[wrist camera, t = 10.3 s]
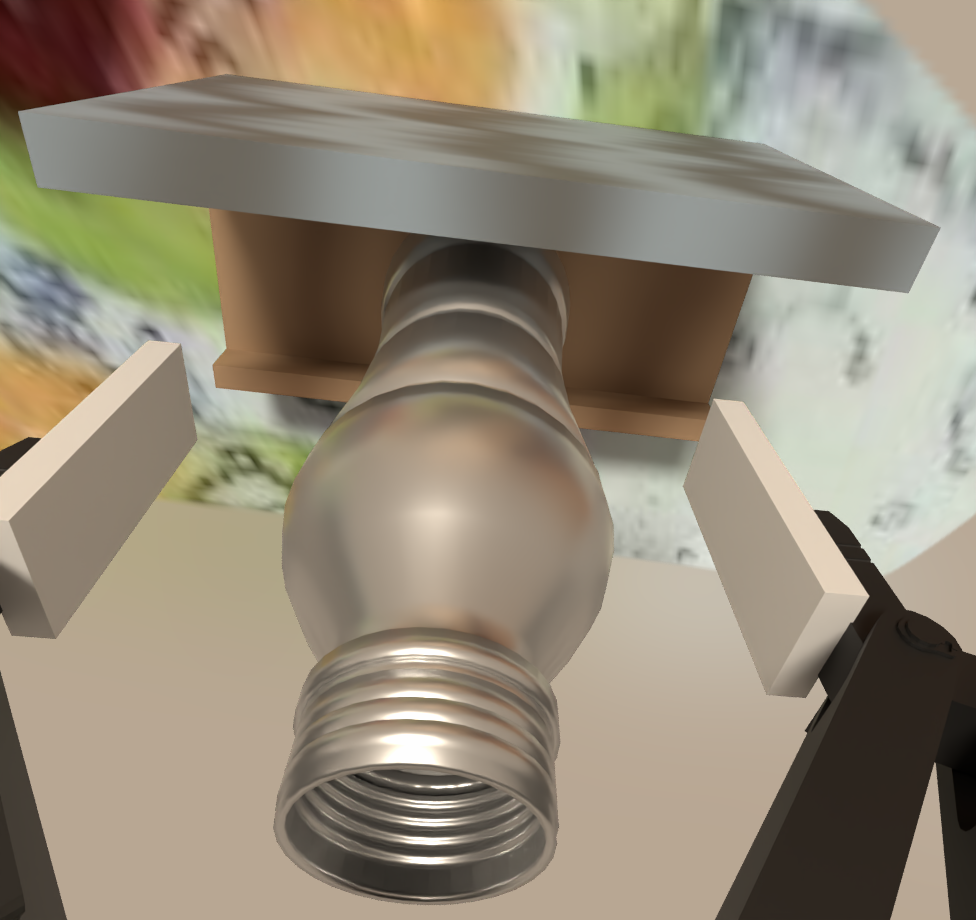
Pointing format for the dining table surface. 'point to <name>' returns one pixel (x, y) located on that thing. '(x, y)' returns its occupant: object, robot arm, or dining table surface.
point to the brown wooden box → (474, 227)
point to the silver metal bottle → (442, 586)
